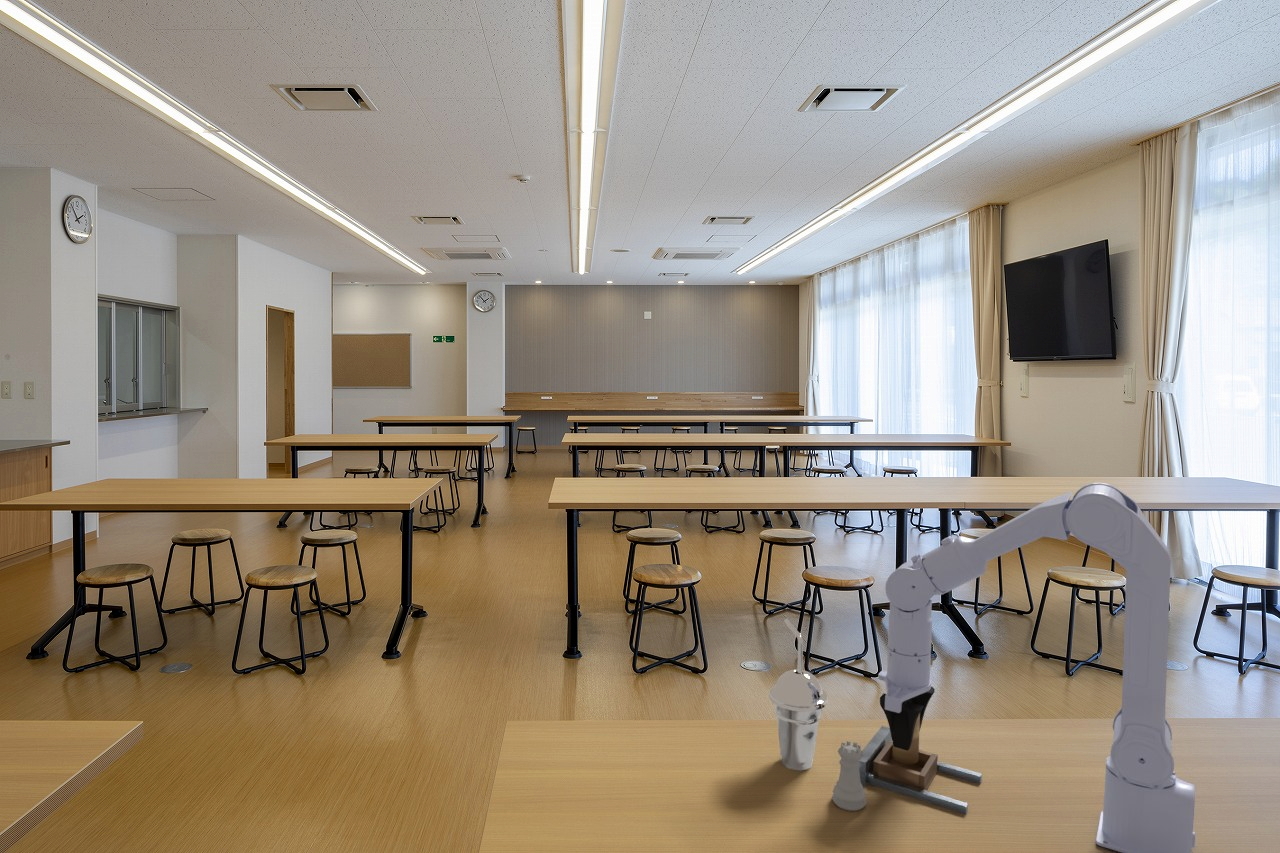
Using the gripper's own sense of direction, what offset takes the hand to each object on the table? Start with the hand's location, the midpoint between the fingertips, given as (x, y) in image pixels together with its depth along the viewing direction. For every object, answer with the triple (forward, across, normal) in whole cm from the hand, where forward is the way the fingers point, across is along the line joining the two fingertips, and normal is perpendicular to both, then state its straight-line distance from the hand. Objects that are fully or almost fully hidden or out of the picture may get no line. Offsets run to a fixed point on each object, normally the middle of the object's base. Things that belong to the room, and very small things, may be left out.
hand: (905, 741), depth 112 cm
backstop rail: (+5, 0, +2) cm, 6 cm away
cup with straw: (+5, +5, -14) cm, 16 cm away
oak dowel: (+2, 0, 0) cm, 2 cm away
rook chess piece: (+5, +11, -4) cm, 13 cm away
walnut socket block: (+5, 0, 0) cm, 5 cm away
